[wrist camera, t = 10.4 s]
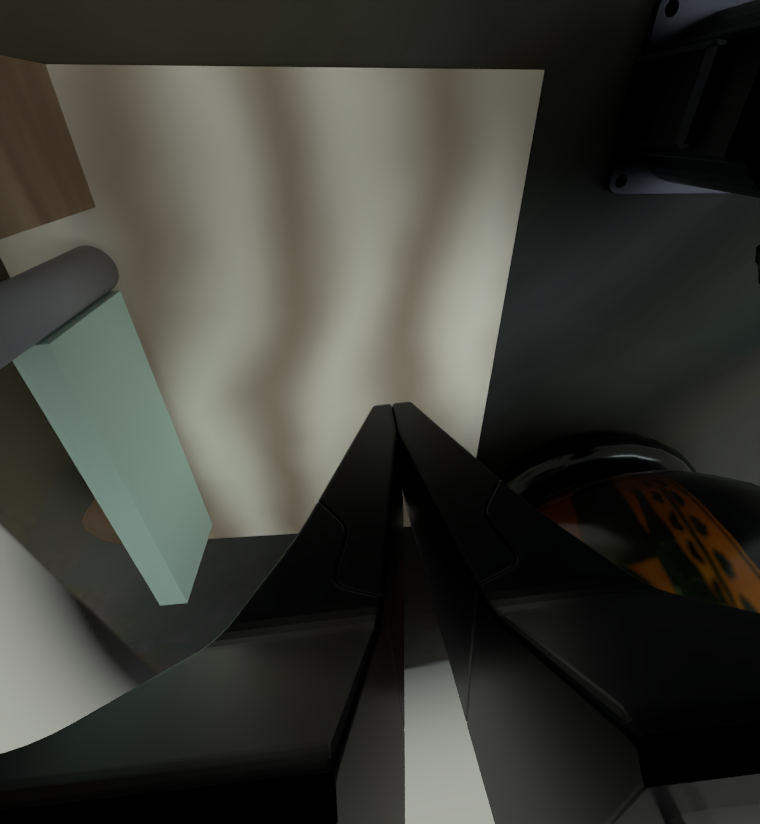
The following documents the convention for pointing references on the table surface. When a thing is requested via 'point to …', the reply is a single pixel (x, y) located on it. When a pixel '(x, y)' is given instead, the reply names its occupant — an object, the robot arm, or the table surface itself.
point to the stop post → (99, 524)
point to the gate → (107, 411)
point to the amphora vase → (652, 515)
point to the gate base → (281, 247)
